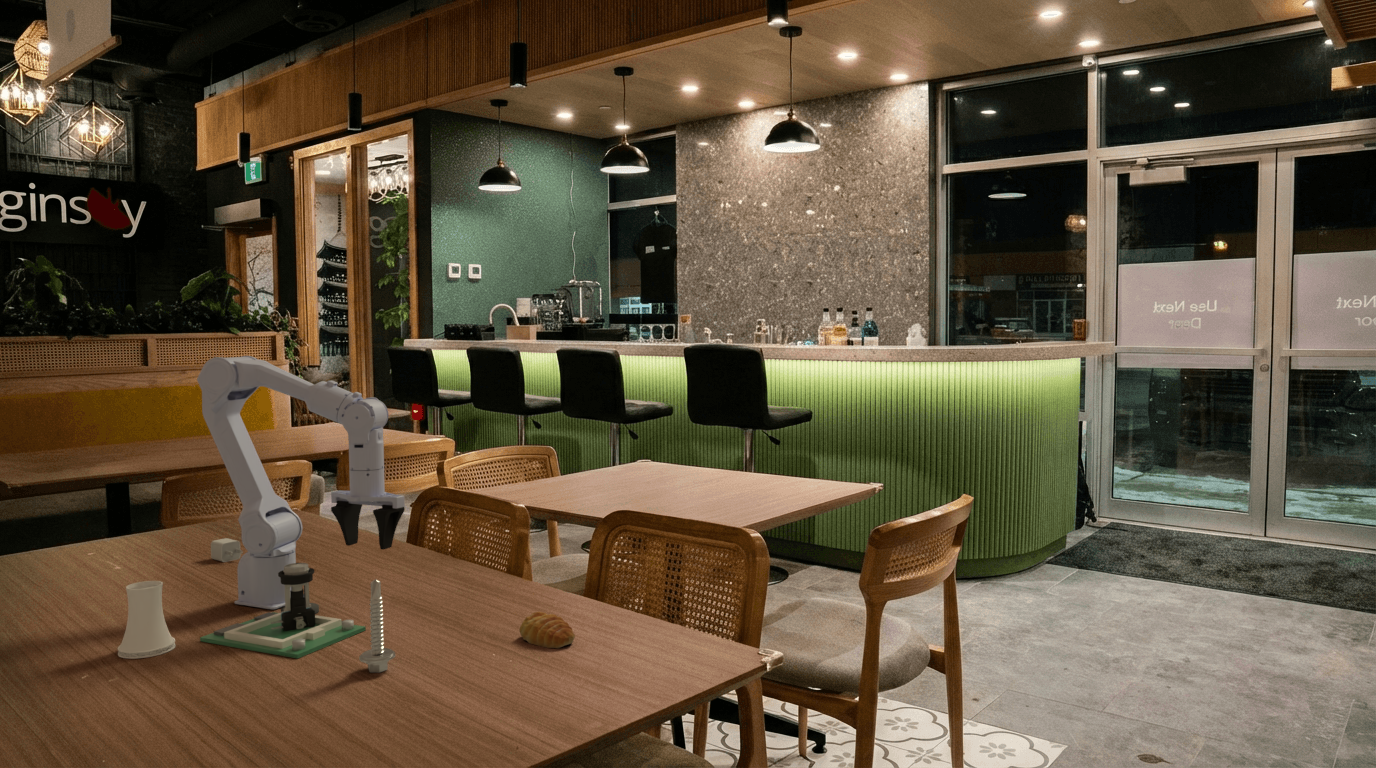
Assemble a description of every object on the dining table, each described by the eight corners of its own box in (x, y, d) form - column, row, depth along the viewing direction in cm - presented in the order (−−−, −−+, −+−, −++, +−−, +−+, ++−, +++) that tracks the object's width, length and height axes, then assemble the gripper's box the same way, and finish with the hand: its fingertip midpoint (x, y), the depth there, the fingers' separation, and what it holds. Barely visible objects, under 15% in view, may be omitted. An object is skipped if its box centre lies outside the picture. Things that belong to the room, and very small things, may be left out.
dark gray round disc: (272, 617, 158) (272, 610, 158) (300, 608, 163) (300, 601, 163) (299, 622, 156) (299, 614, 155) (326, 611, 161) (326, 605, 161)
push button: (275, 636, 145) (273, 572, 145) (267, 628, 149) (265, 566, 149) (320, 628, 149) (318, 566, 149) (310, 620, 153) (309, 559, 153)
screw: (403, 667, 133) (375, 678, 129) (380, 661, 136) (352, 671, 132) (400, 577, 132) (373, 585, 128) (377, 572, 135) (349, 580, 131)
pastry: (586, 643, 144) (585, 619, 143) (550, 655, 139) (549, 629, 139) (549, 629, 150) (549, 606, 150) (514, 640, 146) (513, 616, 146)
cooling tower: (115, 662, 136) (113, 594, 136) (119, 646, 143) (117, 582, 142) (174, 653, 140) (172, 587, 139) (176, 639, 146) (173, 575, 146)
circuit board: (200, 641, 145) (199, 629, 145) (272, 615, 158) (272, 605, 158) (297, 658, 137) (297, 646, 137) (365, 630, 150) (365, 619, 150)
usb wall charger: (229, 556, 200) (229, 537, 200) (247, 560, 196) (246, 541, 196) (211, 559, 197) (210, 541, 197) (228, 564, 193) (227, 545, 193)
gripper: (317, 469, 161) (319, 547, 162) (383, 474, 156) (385, 555, 156) (347, 464, 168) (349, 539, 169) (412, 468, 162) (413, 546, 163)
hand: (368, 546), depth 163 cm, fingers open, 7 cm apart
